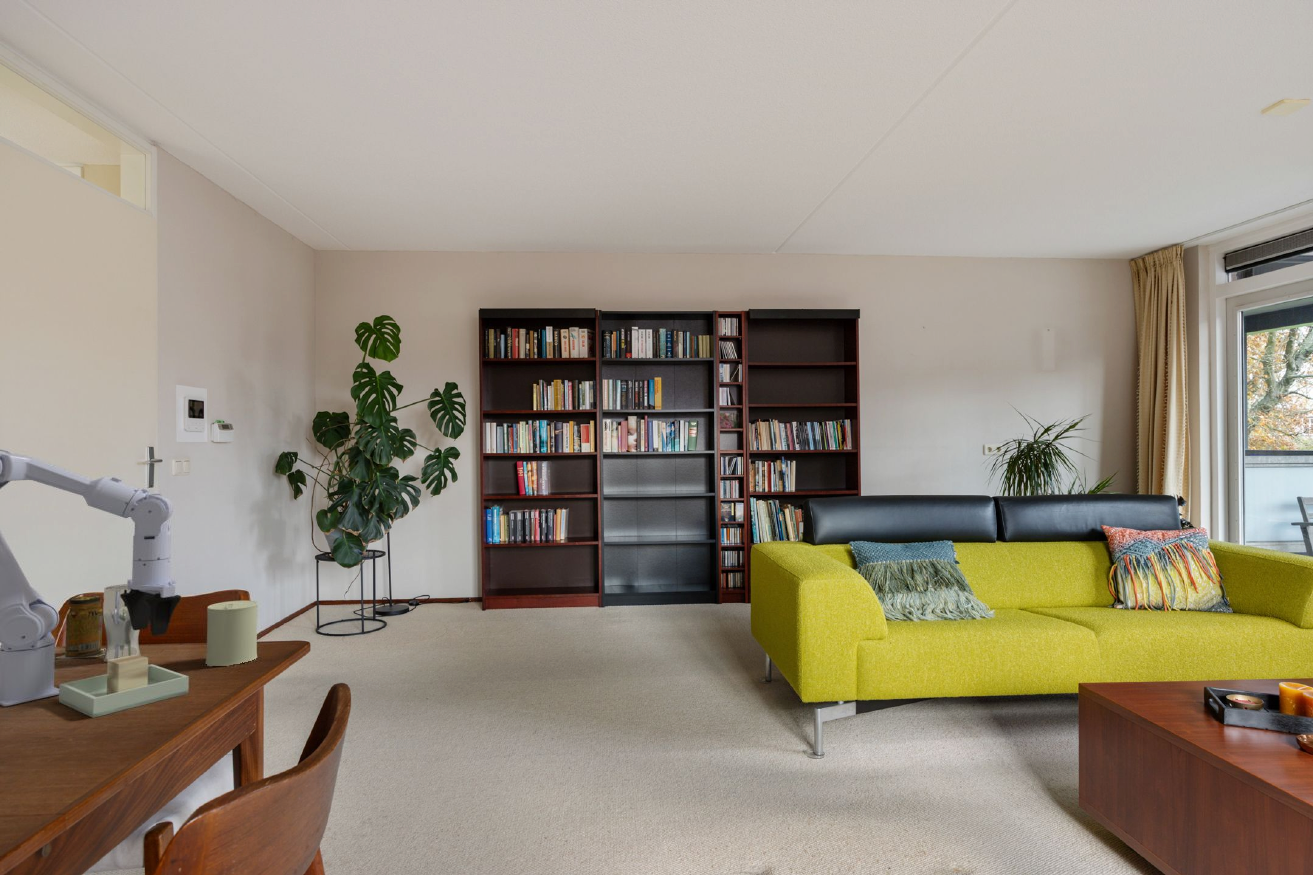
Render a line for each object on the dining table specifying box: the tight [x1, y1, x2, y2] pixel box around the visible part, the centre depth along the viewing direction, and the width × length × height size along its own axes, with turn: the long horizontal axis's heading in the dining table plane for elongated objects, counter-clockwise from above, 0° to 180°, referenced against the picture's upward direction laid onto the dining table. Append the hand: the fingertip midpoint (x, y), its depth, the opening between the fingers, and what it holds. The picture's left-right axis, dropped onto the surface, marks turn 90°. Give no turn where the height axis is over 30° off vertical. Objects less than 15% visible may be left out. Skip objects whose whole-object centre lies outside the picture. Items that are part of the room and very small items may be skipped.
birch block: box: [106, 654, 149, 695], centre depth 123 cm, size 4×4×6 cm
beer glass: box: [101, 583, 141, 663], centre depth 147 cm, size 7×7×15 cm
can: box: [205, 600, 259, 667], centre depth 146 cm, size 9×9×12 cm
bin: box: [58, 664, 190, 718], centre depth 123 cm, size 14×14×3 cm
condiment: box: [55, 595, 106, 660], centre depth 150 cm, size 7×8×12 cm
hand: (149, 631), depth 131 cm, fingers open, 7 cm apart
